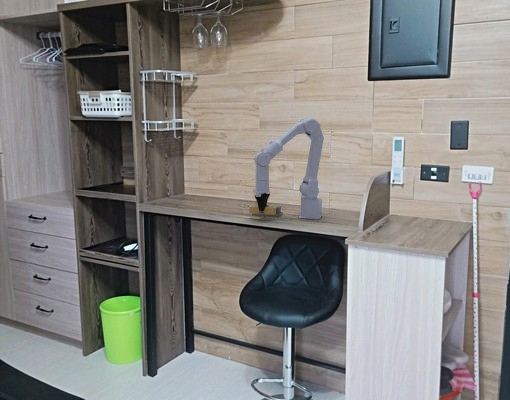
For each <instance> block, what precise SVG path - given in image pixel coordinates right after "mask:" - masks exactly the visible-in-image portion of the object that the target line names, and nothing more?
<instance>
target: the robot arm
mask: <svg viewBox="0 0 510 400" xmlns="http://www.w3.org/2000/svg"><path fill="white" fill-rule="evenodd" d="M303 134H305V135H306V136H307V137H308V138H309V140H310V147H309V153H308V159H307V165H306V171H305V175H304V177H303V178H302V182H301V184H300V185H299V190H298V191H299V193H300V194H301V196H300V215H299V216H298V219H309V220H320V219H321V217H322V216H323V210H322V209H323V200H322V198H320V197H318V195H319V193H320V191H319V180H318V174H319V169H320V162H321V156H322V150H323V144H324V138H325V137H324V135H323V131H322V128H321V124H320V123H319V121H318V120H317V119H315V118H312V117H309V118H307V117H304V118H301V119H300V120H299V121H297V122H296V123H295V124H294V125H293V126H292V127H291V128H290V129H288V130H287V131H286V132H285V133H284V134H283V135H282V136H281V137H280V138H279V139H273V140H269V142H268V145H267V146H266V147H264V148H261V150H260V151H259V152H257V153H256V154H255V156H254V159H253V160H254V163H255V188H253V190H252V191H253V192H254V193H255V194H254V199H255V200H256V204H257V203H258V208H259V211H264V209H265V207H266V205H267V204H268V201H269V199H270V196H271V193H270V194H269V191H270V172H269V171H270V168H269V167H270V166H269V165H270V163H271V161H272V160H273V159H274V158H275V157H276V156H277V155H278V154H280V153H281V152H282V151H283V150H284V146H285V145H287V143H289V142H290V141H291V140H293V139H294V138H295V137H296V136H297V135H303Z"/></svg>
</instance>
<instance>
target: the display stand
mask: <svg viewBox="0 0 510 400" xmlns="http://www.w3.org/2000/svg"><path fill="white" fill-rule="evenodd" d="M255 206H258V205H257V204H256V205H255ZM275 206H277V208H276V214H275V215H271V214H265V212H264V211H260V214H251V216H252V217H254V216H255V217H267V216H270V217H269V218H280V216H281V217H282V216H283V215H284V211H282V206H281V205H272V206H271V207H275ZM266 207H270V204H269V203H267V205H266Z"/></svg>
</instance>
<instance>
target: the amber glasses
mask: <svg viewBox="0 0 510 400" xmlns="http://www.w3.org/2000/svg"><path fill="white" fill-rule="evenodd" d="M274 206H275V207H272V206H269V207H265V209H264V212H265V214H271V215H275V214H276V208H277V206H278V205H274ZM248 210H249V211H248V214H251V215H252V214H260V211H259V208H258V206H256V205H253V204H252V205H250V206H249V207H248Z"/></svg>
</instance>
